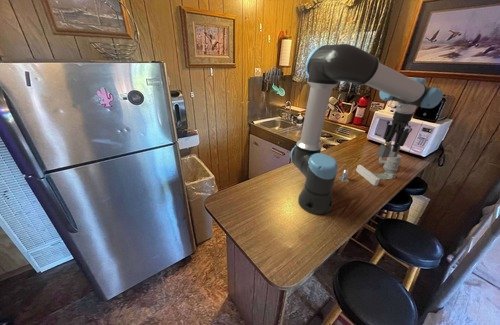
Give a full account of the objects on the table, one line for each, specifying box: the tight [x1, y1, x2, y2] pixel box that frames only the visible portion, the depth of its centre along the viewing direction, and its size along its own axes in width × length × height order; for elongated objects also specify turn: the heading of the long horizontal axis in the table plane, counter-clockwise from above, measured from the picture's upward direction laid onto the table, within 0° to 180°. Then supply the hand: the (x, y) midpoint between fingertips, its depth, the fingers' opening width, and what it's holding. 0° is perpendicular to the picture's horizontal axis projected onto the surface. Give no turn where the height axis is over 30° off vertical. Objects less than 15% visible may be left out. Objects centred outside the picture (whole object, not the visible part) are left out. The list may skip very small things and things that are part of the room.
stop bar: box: [376, 142, 401, 158], centre depth 106 cm, size 9×4×7 cm, turn 98°
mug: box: [378, 153, 403, 173], centre depth 121 cm, size 8×12×12 cm, turn 31°
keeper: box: [367, 169, 397, 181], centre depth 114 cm, size 14×6×3 cm, turn 98°
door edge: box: [355, 164, 381, 187], centre depth 112 cm, size 2×16×4 cm, turn 8°
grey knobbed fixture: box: [337, 168, 350, 183], centre depth 110 cm, size 4×5×6 cm
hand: (387, 154), depth 108 cm, fingers closed on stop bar, 3 cm apart
